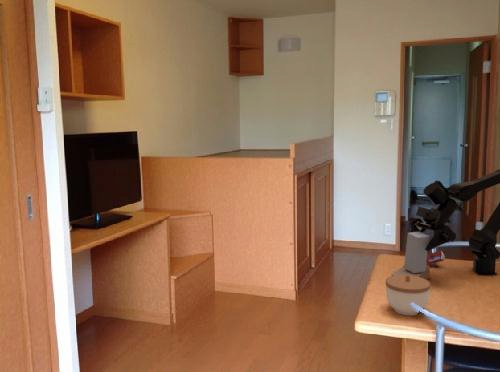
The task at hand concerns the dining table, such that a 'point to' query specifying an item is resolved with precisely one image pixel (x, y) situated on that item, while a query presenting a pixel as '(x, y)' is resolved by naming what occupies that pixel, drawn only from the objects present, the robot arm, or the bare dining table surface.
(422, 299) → the lidded bowl
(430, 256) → the geometric puzzle
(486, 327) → the dining table surface
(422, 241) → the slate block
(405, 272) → the brick
